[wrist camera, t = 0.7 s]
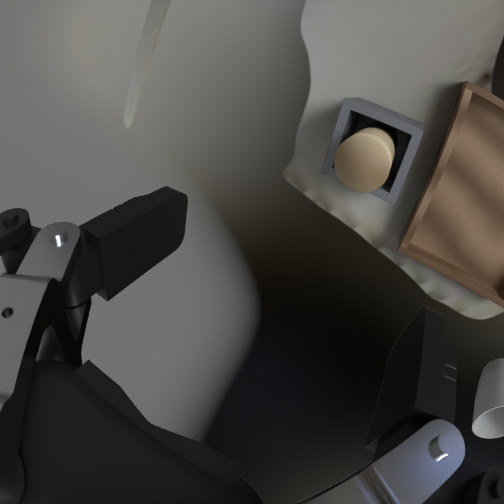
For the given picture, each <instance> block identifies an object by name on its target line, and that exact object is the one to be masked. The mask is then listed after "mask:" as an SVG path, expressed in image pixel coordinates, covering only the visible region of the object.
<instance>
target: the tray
mask: <svg viewBox="0 0 504 504" xmlns="http://www.w3.org/2000/svg"><path fill="white" fill-rule="evenodd" d="M397 251H398V252H400V253H402V254H404V255H406V256H408V257H410V258H412V259H414V260H416V261H418V262H420V263H422V264H424V265H425V266H427V267H429V268H431V269H433V270H435V271H437V272H439V273H441V274H443V275H445V276H447V277H448V278H450V279H452V280H454V281H456V282H458V283H460V284H461V285H463V286H465V287H467V288H469V289H471V290H472V291H474V292H476V293H478V294H480V295H481V296H483V297H485V298H487V299H489V300H490V301H492V302H494V303H496V304H497V305H499V306H501V307H503V308H504V101H503V100H501V99H499V98H497V97H496V96H494V95H492V94H491V93H489V92H487V91H486V90H484V89H482V88H480V87H478V86H477V85H475V84H473V83H471V82H469V81H465V82H463V84H462V87H461V90H460V93H459V96H458V100H457V103H456V106H455V109H454V111H453V114H452V117H451V120H450V123H449V126H448V128H447V131H446V134H445V137H444V139H443V142H442V144H441V147H440V150H439V152H438V155H437V157H436V160H435V162H434V165H433V167H432V169H431V172H430V174H429V177H428V179H427V181H426V184H425V186H424V188H423V190H422V193H421V195H420V197H419V199H418V201H417V204H416V206H415V208H414V210H413V212H412V214H411V216H410V219H409V221H408V223H407V225H406V227H405V229H404V231H403V233H402V235H401V237H400V239H399V243H398V250H397Z"/></svg>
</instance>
